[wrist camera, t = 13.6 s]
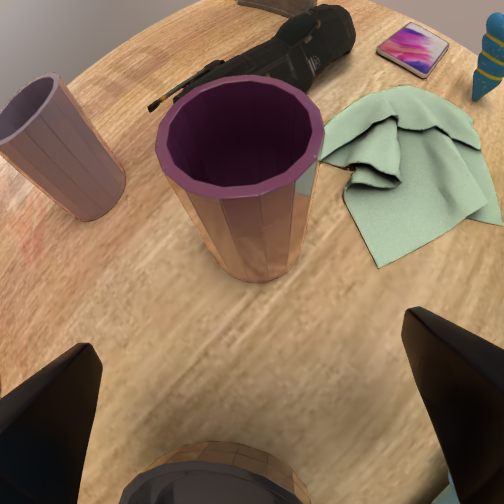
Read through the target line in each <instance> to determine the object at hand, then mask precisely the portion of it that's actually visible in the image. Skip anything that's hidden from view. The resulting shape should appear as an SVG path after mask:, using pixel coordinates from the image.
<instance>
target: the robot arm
mask: <svg viewBox="0 0 504 504" xmlns="http://www.w3.org/2000/svg"><path fill="white" fill-rule="evenodd" d="M401 337H402V341H403V344H404V347H405V350H406V354H407V357H408V360H409V363H410V366H411V369H412V373H413V376H414V379H415V382H416V385H417V387H418V390H419V392H420V395H421V397H422V399H423V402H424V404H425V407H426V409H427V412H428V414H429V417H430V419H431V422H432V424H433V427H434V430H435V432H436V435H437V438H438V440H439V443H440V446H441V448H442V451H443V454H444V457H445V460H446V463H447V466H448V469H449V472H450V475H451V478H452V481H453V484H454V488H455V491H456V494H457V498H458V501H459V504H504V349H502V348H500V347H498V346H496V345H494V344H492V343H490V342H489V341H487V340H485V339H483V338H481V337H479V336H477V335H475V334H473V333H471V332H469V331H467V330H466V329H464V328H462V327H460V326H458V325H456V324H454V323H452V322H450V321H448V320H446V319H444V318H442V317H440V316H438V315H436V314H434V313H432V312H430V311H428V310H426V309H424V308H422V307H420V306H418V307H413V308H409V309H407V310H406V311H405V315H404V321H403V326H402V332H401ZM102 371H103V366H102V362H101V360H100V359H99V357H98V355H97V353H96V351H95V350H94V348H93V346H92V345H91V344H90V343H78V344H76V345H75V346H73V347H72V348H70V349H69V350H68V351H66V352H65V353H63V354H62V355H60V356H59V357H58V358H56V359H55V360H53V361H52V362H51V363H49V364H48V365H47V366H45V367H44V368H42V369H41V370H40V371H38V372H37V373H35V374H34V375H33V376H31V377H30V378H29V379H27V380H26V381H24V382H23V383H22V384H20V385H19V386H18V387H16V388H15V389H14V390H12V391H11V392H10V393H8V394H7V395H5V396H4V397H3V398H1V399H0V504H77V501H78V494H79V488H80V482H81V477H82V471H83V466H84V461H85V456H86V451H87V447H88V442H89V438H90V433H91V429H92V425H93V421H94V417H95V412H96V407H97V401H98V394H99V388H100V382H101V377H102Z"/></svg>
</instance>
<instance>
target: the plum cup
mask: <svg viewBox="0 0 504 504" xmlns="http://www.w3.org/2000/svg"><path fill="white" fill-rule="evenodd" d="M324 139H325V129H324V125H323V121H322V117H321V113H320V110H319V109H318V107H317V106H316V105H315V104H314V103H313V102H312V101H311V100H310V98H309V97H308V96H307V95H306V94H305V93H304V92H302V90H300V89H298V88H296V87H294V86H292V85H290V84H288V83H286V82H284V81H282V80H279V79H275V78H270V77H264V76H257V75H241V76H231V77H223V78H220V79H217V80H214V81H211V82H209V83H206V84H203V85H201V86H198V87H196V88H194V89H193V90H192V91H190V92H189V93H187V94H186V95H185V96H183V97H182V98H181V99H179V100H178V101H177V102H175V103H174V104H173V105H172V107H171V108H170V110H169V111H168V112H167V114H166V115H165V117H164V118H163V120H162V121H161V123H160V125H159V128H158V134H157V139H156V145H155V151H156V154H157V157H158V159H159V162H160V165H161V168H162V170H163V172H164V174H165V176H166V178H167V179H168V181H169V183H170V184H171V186H172V188H173V190H174V191H175V193H176V195H177V196H178V198H179V200H180V201H181V203H182V205H183V207H184V208H185V210H186V212H187V213H188V215H189V217H190V218H191V220H192V222H193V223H194V225H195V227H196V228H197V230H198V232H199V233H200V235H201V236H202V238H203V240H204V241H205V243H206V245H207V246H208V248H209V250H210V251H211V253H212V254H213V256H214V258H215V259H216V261H217V262H218V264H219V265H220V266H221V267H222V268H223V269H224V270H225V271H226V272H227V273H228V274H230V275H231V276H233V277H235V278H237V279H239V280H242V281H245V282H251V283H261V282H267V281H271V280H274V279H276V278H278V277H280V276H282V275H284V274H285V273H286V272H288V271H289V270H290V269H291V268H292V266H293V265H294V264H295V263H296V261H297V259H298V257H299V255H300V252H301V249H302V246H303V242H304V238H305V234H306V229H307V225H308V220H309V215H310V210H311V206H312V201H313V196H314V191H315V186H316V181H317V176H318V171H319V166H320V160H321V155H322V150H323V144H324Z"/></svg>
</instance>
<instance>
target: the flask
mask: <svg viewBox="0 0 504 504" xmlns="http://www.w3.org/2000/svg"><path fill="white" fill-rule="evenodd" d="M238 4H239V5H243V6H250V7H255V8H259V9H263V10H267V11H270V12H274V13H277V14H280V15H282V16H285V17H287V18H289V19H291V18H293V17H295V16H297V15H299V14H301V13H305V12H307V11H308V10H309V9H311V8H313V7H316V5H317V0H238Z"/></svg>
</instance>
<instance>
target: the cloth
mask: <svg viewBox="0 0 504 504" xmlns="http://www.w3.org/2000/svg"><path fill="white" fill-rule="evenodd" d="M473 123H474V121H473V119H472V118H471V117H470V116H469V115H468V114H467V113H466V112H465V111H463V110H462V109H461V108H459V107H457V106H455V105H454V104H452V103H451V102H450V101H448V100H446V99H444V98H442V97H440V96H437V95H435V94H433V93H432V92H429V91H426V90H423V89H420V88H416V87H414V86H411V85H399V86H398V87H395V88H389V89H387V90H385V91H379V92H375V93H371V94H368V95H366V96H364V97H362V98H360V99H359V100H357V101H355V102H354V103H352V104H351V105H349V106H348V107H347V108H345V109H344V110H343V111H342V112H340V113H338V114H337V115H336V116H334V117H333V118H332V119H331V120H330V121H328V122H327V123H326V124H325V126H324V129H325V139H324V144H323V150H322V155H321V160H320V161H323V162H325V163H328V164H331V165H333V166H338V167H343V168H344V167H346V166H347V165H349V164H351V163H359V164H357V165H356V166H355V168H356V172H354V173H353V174H352V175H351V178H350V180H349V181H348V183H347V185H346V186H345V190H344V195H343V197H344V200H345V202H346V205H347V207H348V209H349V211H350V213H351V215H352V217H353V219H354V221H355V223H356V225H357V227H358V229H359V231H360V233H361V235H362V237H363V239H364V241H365V243H366V245H367V247H368V249H369V251H370V253H371V255H372V256H373V258H374V260H375V262H376V265H377V267H378V269H379V268H381V267H383V266H385V265H386V264H389V263H391V262H393V261H395V260H397V259H399V258H401V257H403V256H405V255H406V254H408V253H410V252H412V251H414V250H416V249H418V248H420V247H422V246H424V245H426V244H427V243H429V242H431V241H432V240H434V239H436V238H437V237H439V236H441V235H443V234H445V233H446V232H448V231H449V230H451V229H452V228H454V227H455V226H456V225H457V224H458V223H460V222H461V221H462V220H463V219H464V218H466V219H473V220H476V221H479V222H484V223H489V224H494V225H500V226H503V221H502V216H501V212H500V208H499V204H498V200H497V196H496V192H495V189H494V186H493V182H492V179H491V176H490V173H489V170H488V167H487V165H486V162H485V159H484V157H483V154H482V152H481V143H480V138H479V136H478V133H477V132H476V131H475V129H474V128H473V127H472V125H473Z"/></svg>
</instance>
